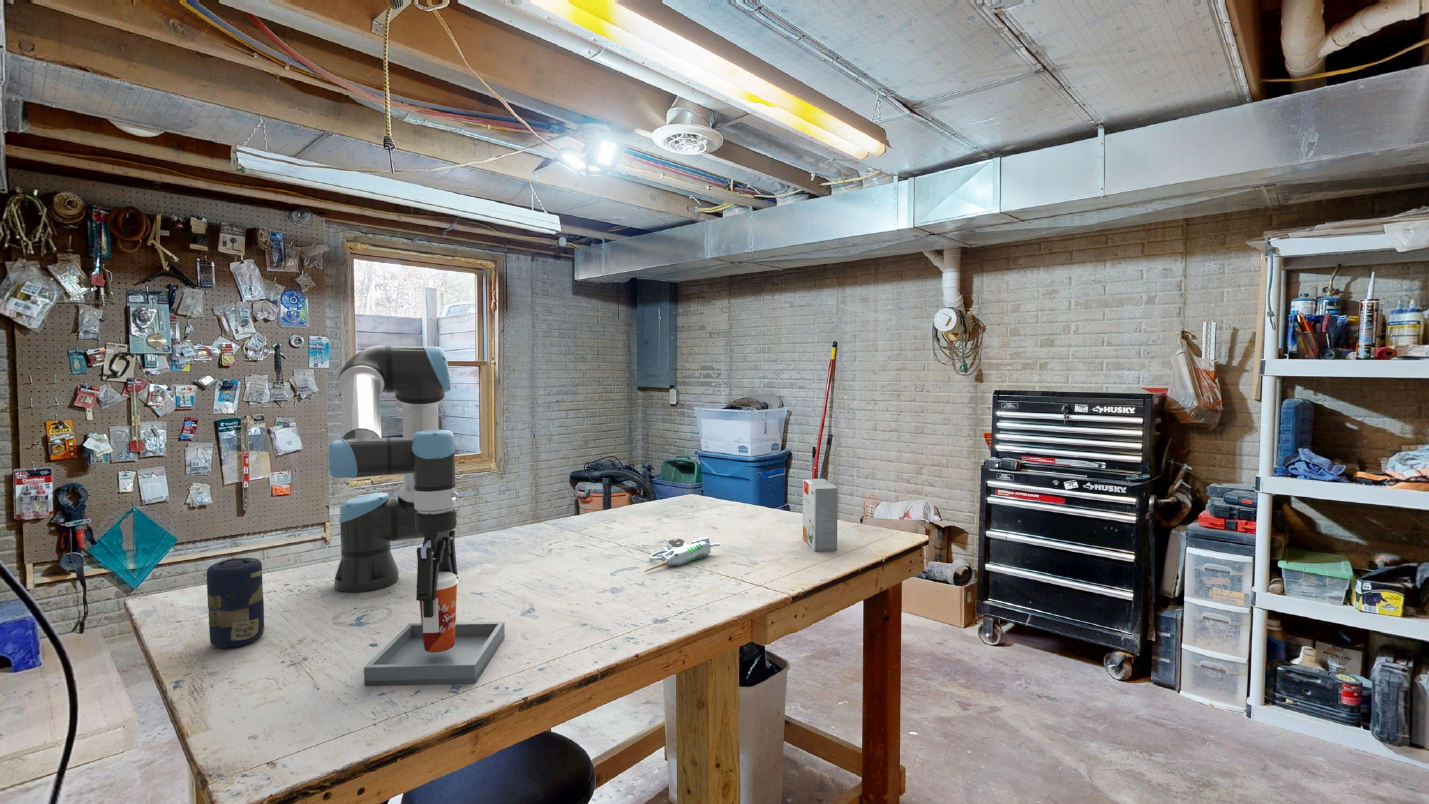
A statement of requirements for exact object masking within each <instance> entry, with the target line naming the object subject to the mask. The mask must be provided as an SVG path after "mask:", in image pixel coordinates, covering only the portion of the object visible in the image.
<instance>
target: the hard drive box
mask: <svg viewBox="0 0 1429 804" xmlns="http://www.w3.org/2000/svg"><path fill="white" fill-rule="evenodd" d="M838 491H839V488H838V487H836V486H835V485H834V484H832V483H830V482H829V481H828V480H827V479H825V478H804V479H802V538H803V540H804V541H805V542H806V543H807V544H808V545H809V546H810V548H811V549H812V550H813V551H814V552H828V551H829V552H831V551H832V552H833V551H838V501H839V500H838V496H839V495H838V494H839V493H838Z"/></svg>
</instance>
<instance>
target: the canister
mask: <svg viewBox="0 0 1429 804" xmlns="http://www.w3.org/2000/svg"><path fill="white" fill-rule="evenodd" d="M262 564H263V563H262V561H261V560H260V559H258V558H255V557H232V558H229V559H225V560H221V561H219V562H216V563H214V564H212V565H210V566H209V567H208V568H207V570H206V593H207V607H208V629H209V630H208V631H209V641H210V644H211V645H212V646H214V647H216V648H235V647H239V646H244V645H246V644H249V643H253V642H254V641H256V640H258V639H259V638H261V637H262V636H263V635H264V633H265V607H264V606H265V603H264V591H263V590H264V588H263V587H264V586H263V583H264V582H263V565H262Z"/></svg>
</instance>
